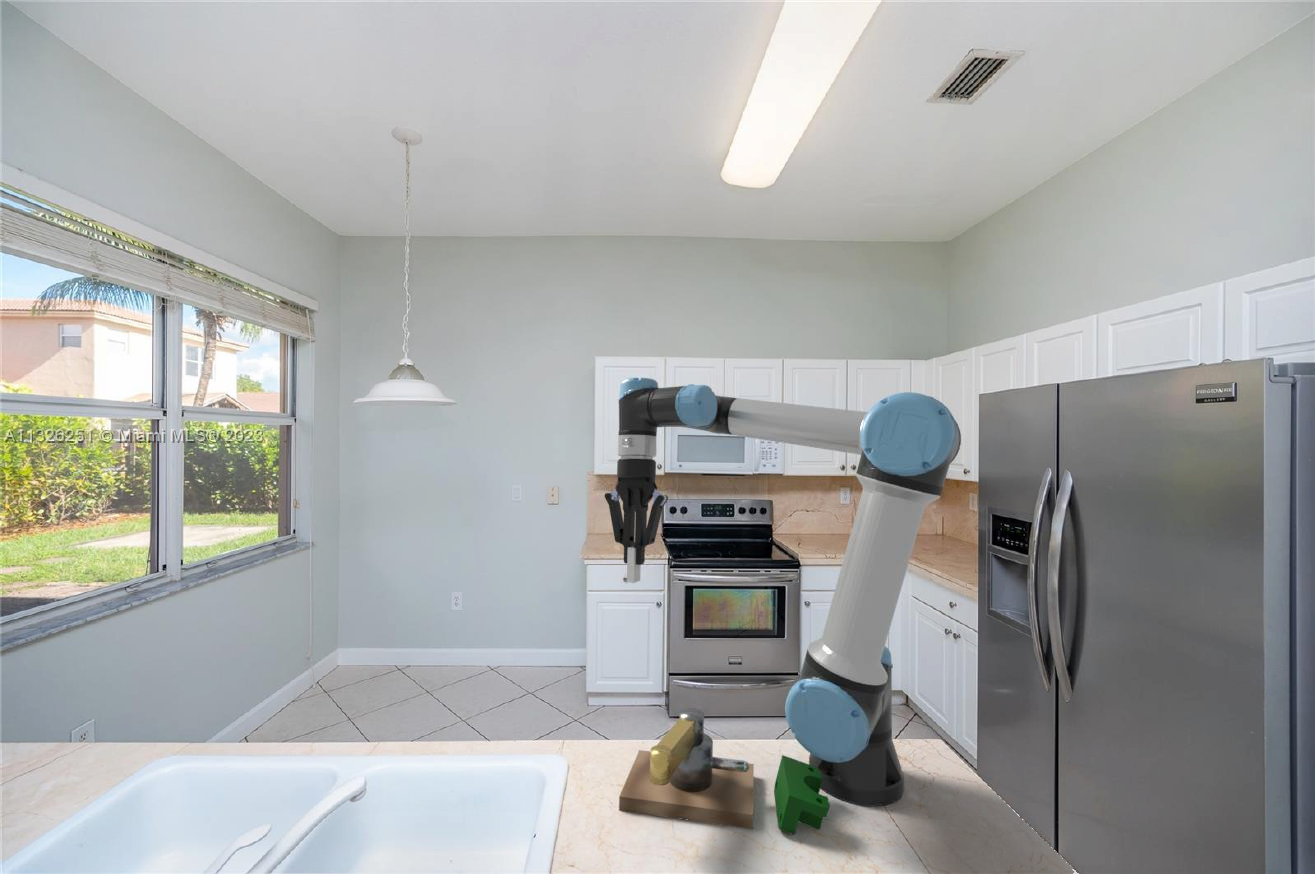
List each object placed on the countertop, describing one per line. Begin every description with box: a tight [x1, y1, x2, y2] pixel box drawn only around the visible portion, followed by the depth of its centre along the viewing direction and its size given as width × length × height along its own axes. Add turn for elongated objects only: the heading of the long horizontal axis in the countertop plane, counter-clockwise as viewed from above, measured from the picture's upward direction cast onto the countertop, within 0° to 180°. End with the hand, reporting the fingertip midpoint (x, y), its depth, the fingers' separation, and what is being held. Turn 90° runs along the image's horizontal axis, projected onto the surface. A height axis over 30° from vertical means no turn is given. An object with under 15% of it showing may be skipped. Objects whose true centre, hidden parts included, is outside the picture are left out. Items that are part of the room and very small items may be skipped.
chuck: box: [670, 733, 750, 792], centre depth 86 cm, size 13×7×6 cm, turn 79°
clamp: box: [773, 754, 831, 836], centre depth 81 cm, size 12×6×9 cm, turn 166°
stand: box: [618, 749, 755, 830], centre depth 86 cm, size 20×14×2 cm
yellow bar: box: [650, 707, 705, 786], centre depth 81 cm, size 16×4×4 cm, turn 157°
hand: (633, 581), depth 102 cm, fingers closed
